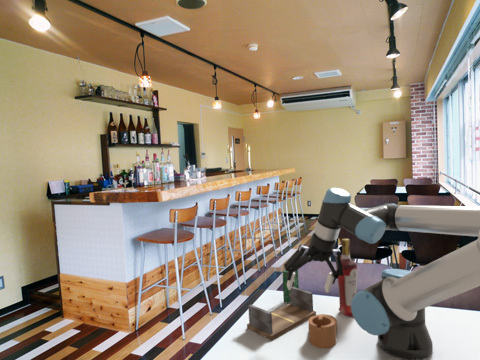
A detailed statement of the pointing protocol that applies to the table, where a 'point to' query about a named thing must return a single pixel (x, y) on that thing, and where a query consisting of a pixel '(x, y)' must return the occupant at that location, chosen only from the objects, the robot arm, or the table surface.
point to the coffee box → (285, 289)
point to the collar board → (282, 315)
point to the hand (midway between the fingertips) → (307, 289)
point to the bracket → (322, 331)
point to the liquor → (347, 280)
